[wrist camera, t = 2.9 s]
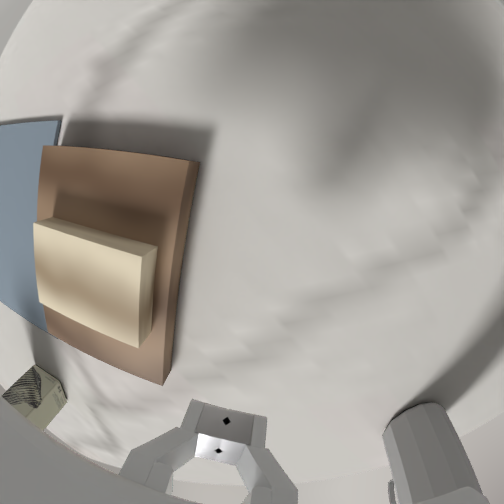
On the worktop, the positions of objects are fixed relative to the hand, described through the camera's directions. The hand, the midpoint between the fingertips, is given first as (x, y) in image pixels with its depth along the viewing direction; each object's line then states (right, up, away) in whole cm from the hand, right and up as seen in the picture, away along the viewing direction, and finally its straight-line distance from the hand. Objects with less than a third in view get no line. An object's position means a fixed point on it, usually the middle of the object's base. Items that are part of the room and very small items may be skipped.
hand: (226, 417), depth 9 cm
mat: (-22, +9, +9) cm, 26 cm away
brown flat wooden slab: (-10, +6, +9) cm, 14 cm away
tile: (-9, +5, +7) cm, 13 cm away
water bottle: (+17, -12, +11) cm, 23 cm away
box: (-25, -10, +15) cm, 31 cm away
